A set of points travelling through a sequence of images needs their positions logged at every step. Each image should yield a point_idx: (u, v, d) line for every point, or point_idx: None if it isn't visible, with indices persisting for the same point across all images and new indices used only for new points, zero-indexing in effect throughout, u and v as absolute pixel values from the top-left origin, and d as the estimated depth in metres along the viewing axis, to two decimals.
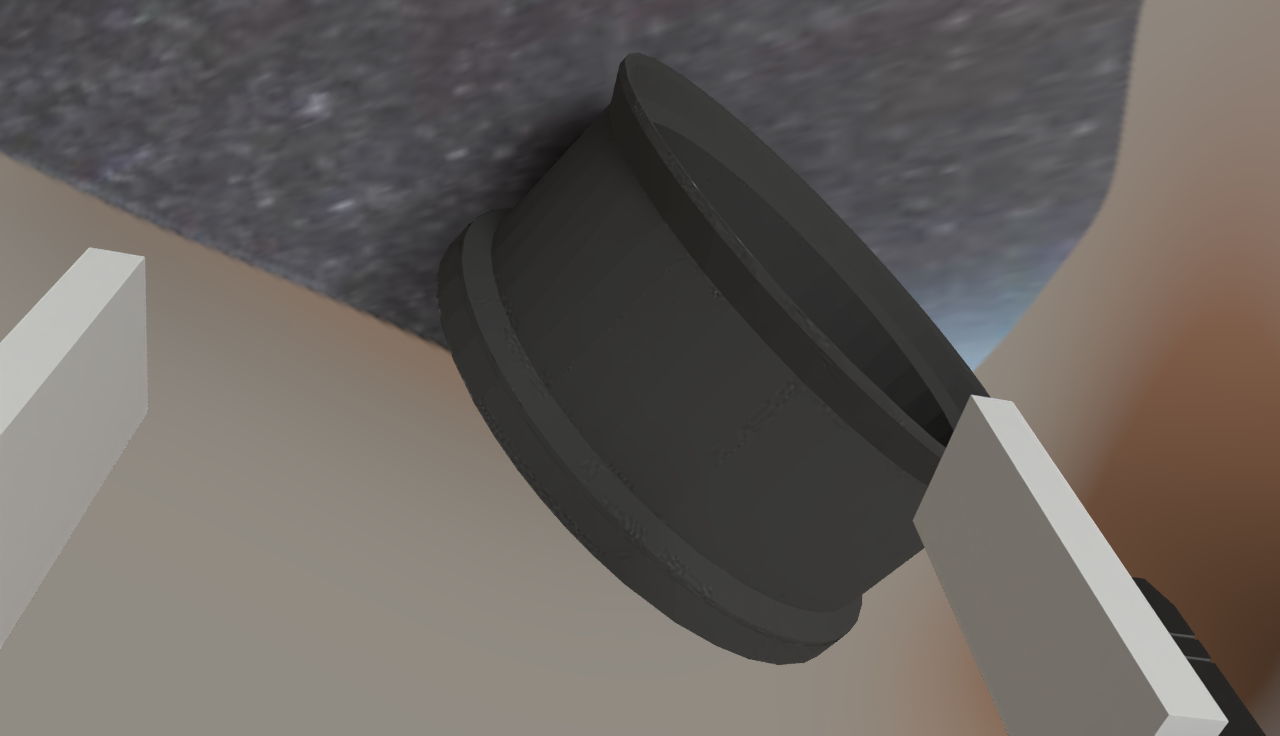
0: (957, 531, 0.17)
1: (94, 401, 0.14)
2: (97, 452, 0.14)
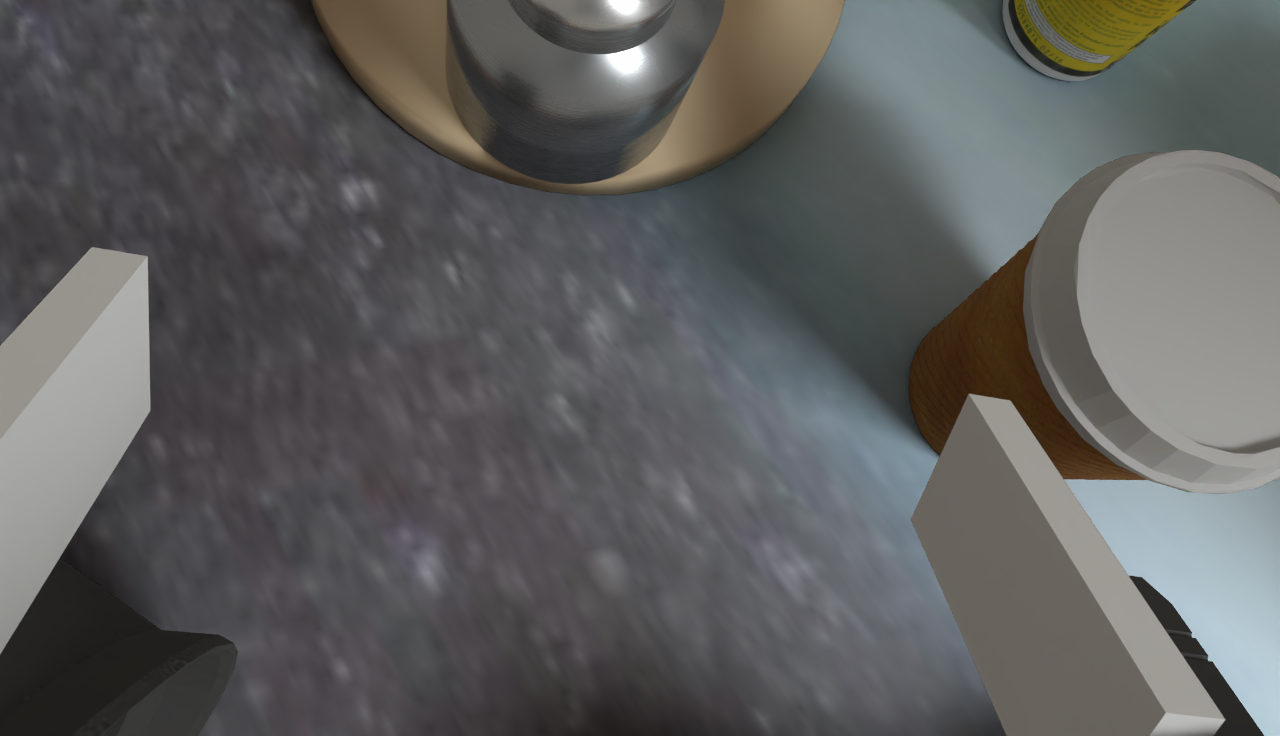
0: (955, 530, 0.17)
1: (97, 400, 0.14)
2: (100, 452, 0.14)
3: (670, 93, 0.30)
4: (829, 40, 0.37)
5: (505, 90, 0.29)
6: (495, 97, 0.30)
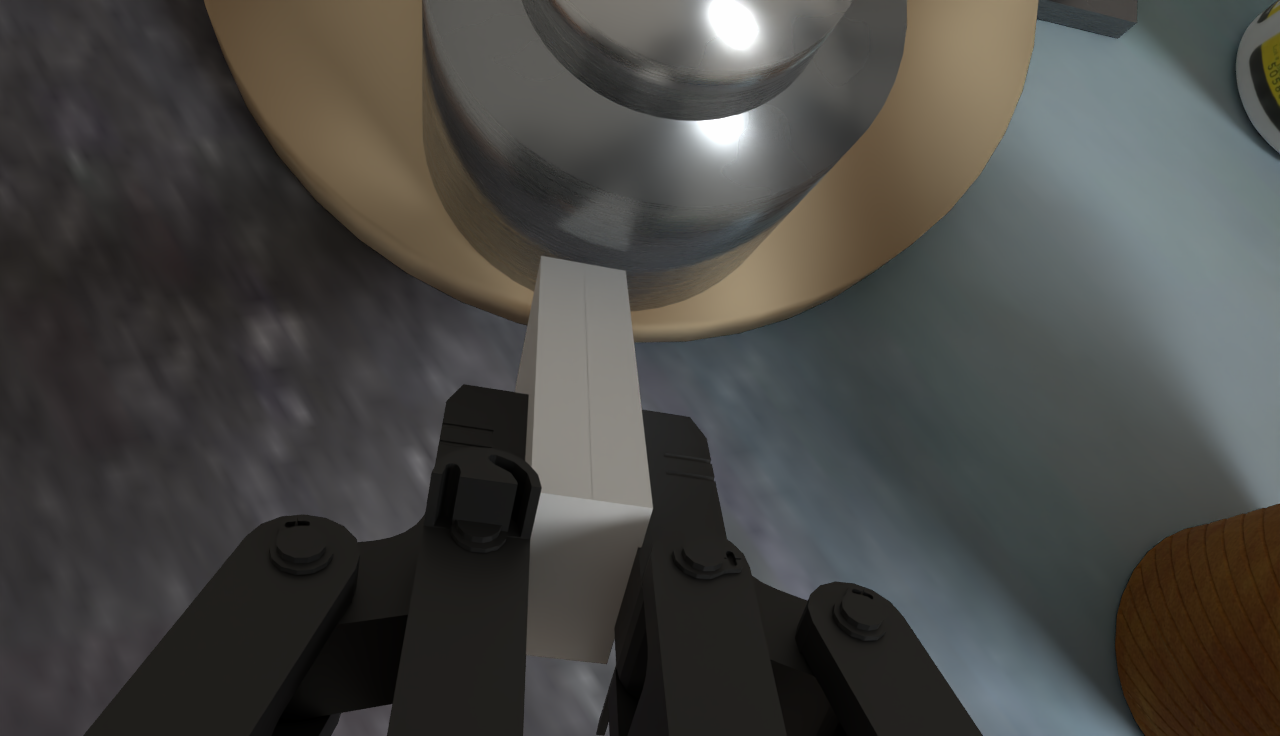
0: None
1: None
2: None
3: (806, 189, 0.17)
4: (1010, 112, 0.25)
5: (518, 177, 0.17)
6: (500, 184, 0.17)
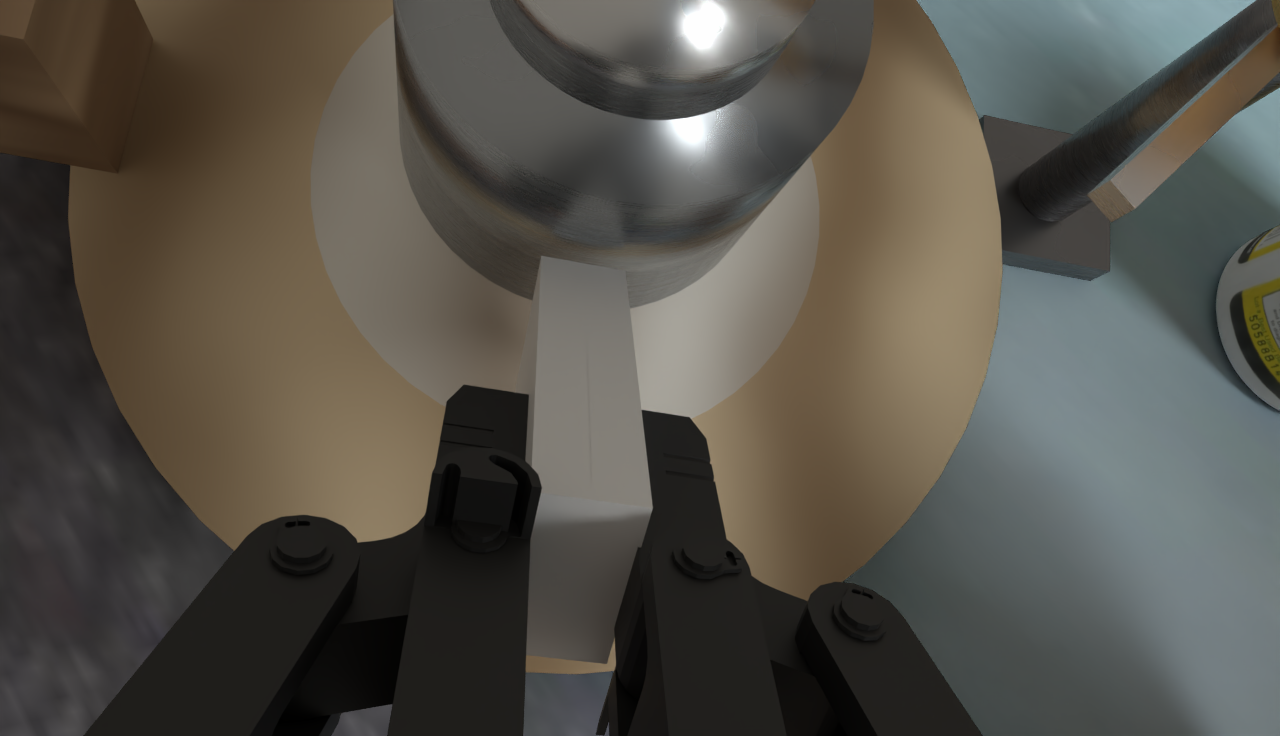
0: None
1: None
2: None
3: (774, 186, 0.17)
4: (972, 403, 0.23)
5: (489, 177, 0.17)
6: (472, 185, 0.17)
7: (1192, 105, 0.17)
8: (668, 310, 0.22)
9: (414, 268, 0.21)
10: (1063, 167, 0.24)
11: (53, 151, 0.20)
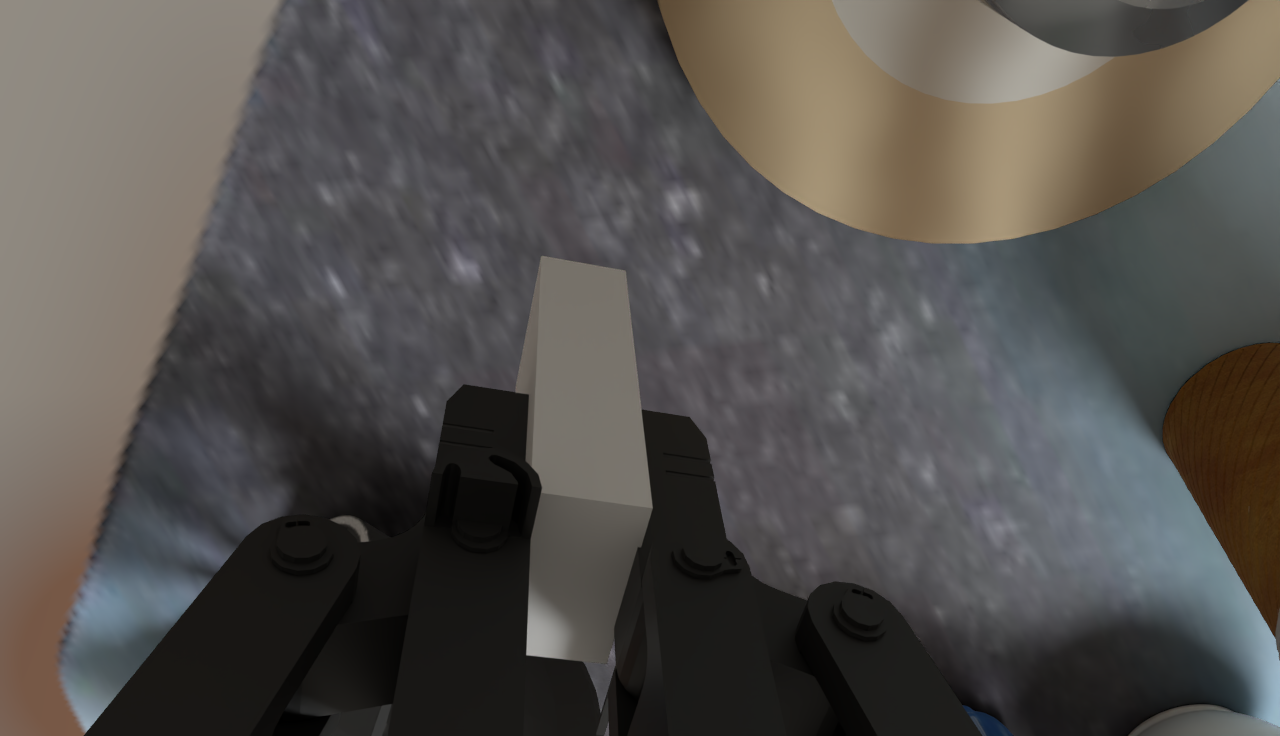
0: None
1: None
2: None
3: None
4: (1265, 91, 0.31)
5: (987, 0, 0.24)
6: None
7: None
8: None
9: None
10: None
11: None
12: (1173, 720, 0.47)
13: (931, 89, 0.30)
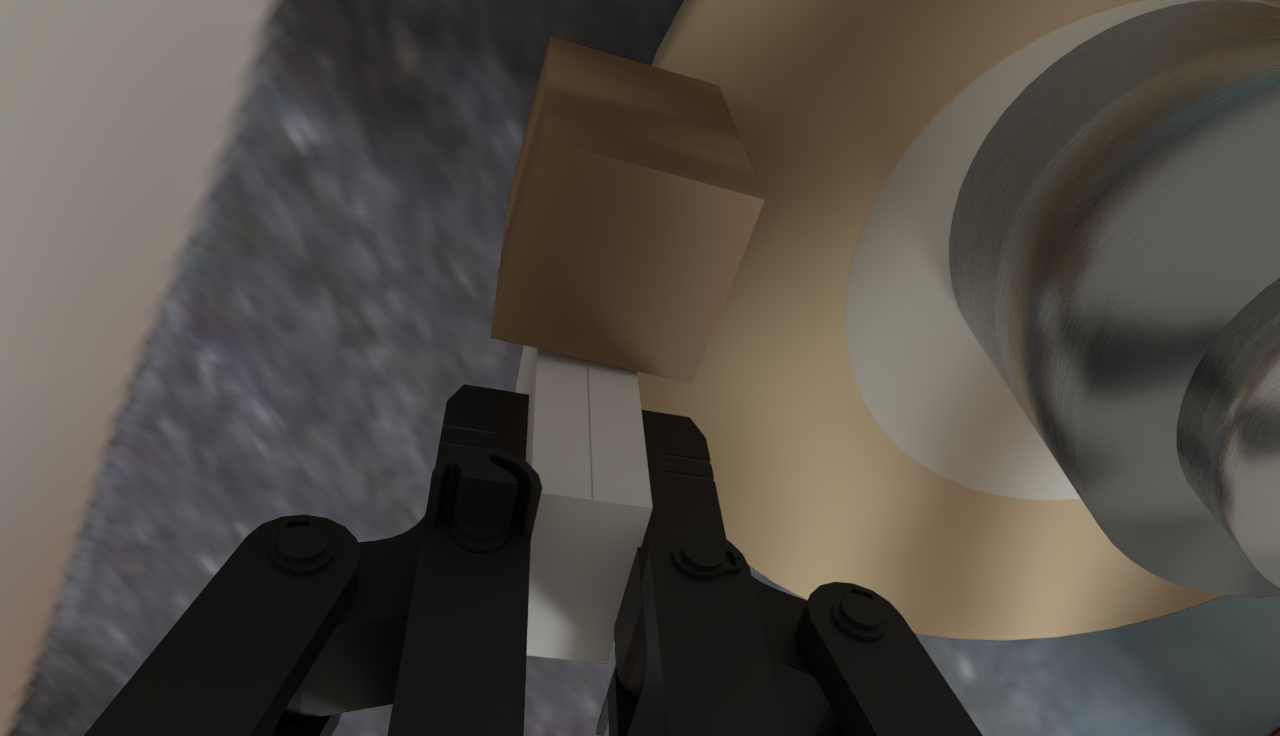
0: None
1: None
2: None
3: None
4: None
5: None
6: None
7: None
8: None
9: (929, 349, 0.21)
10: None
11: None
12: None
13: (975, 483, 0.23)
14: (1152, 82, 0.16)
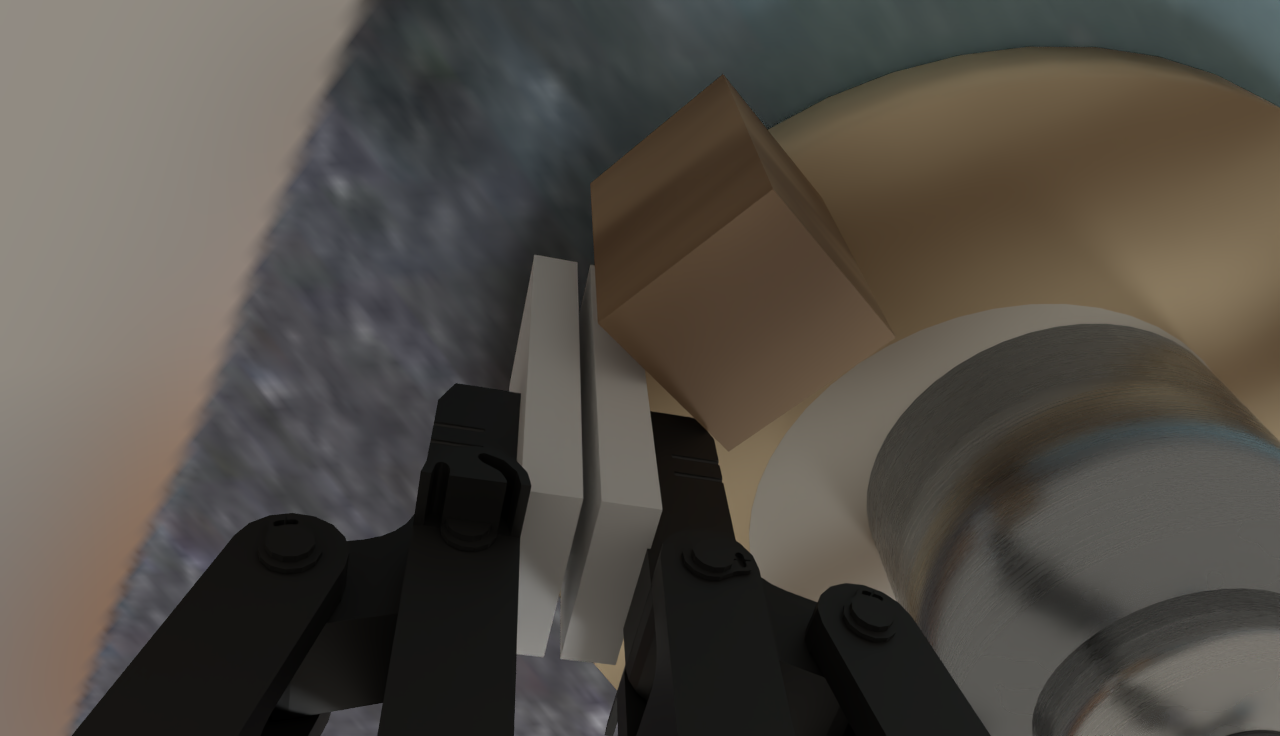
0: None
1: None
2: None
3: None
4: None
5: None
6: None
7: None
8: None
9: (828, 495, 0.23)
10: None
11: None
12: None
13: None
14: (1144, 390, 0.19)
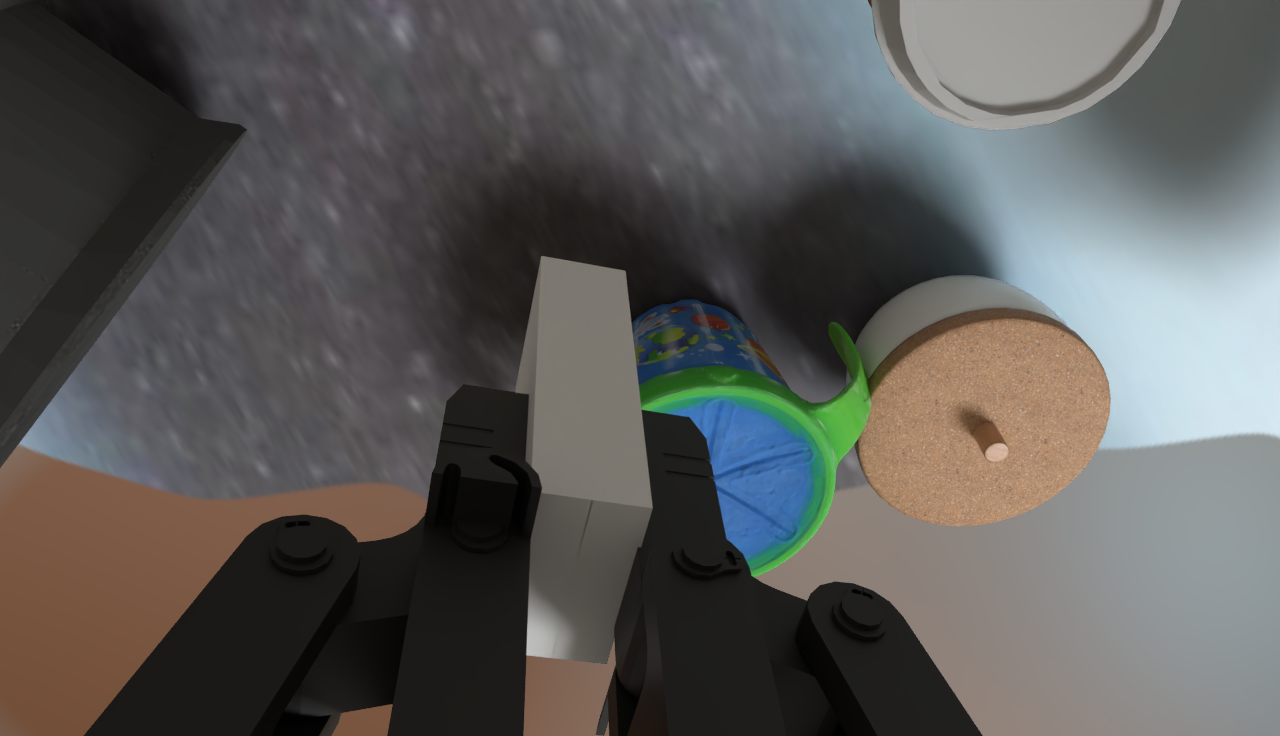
0: None
1: None
2: None
3: None
4: None
5: None
6: None
7: None
8: None
9: None
10: None
11: None
12: None
13: None
14: None
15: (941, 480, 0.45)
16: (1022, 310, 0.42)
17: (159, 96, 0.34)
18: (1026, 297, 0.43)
